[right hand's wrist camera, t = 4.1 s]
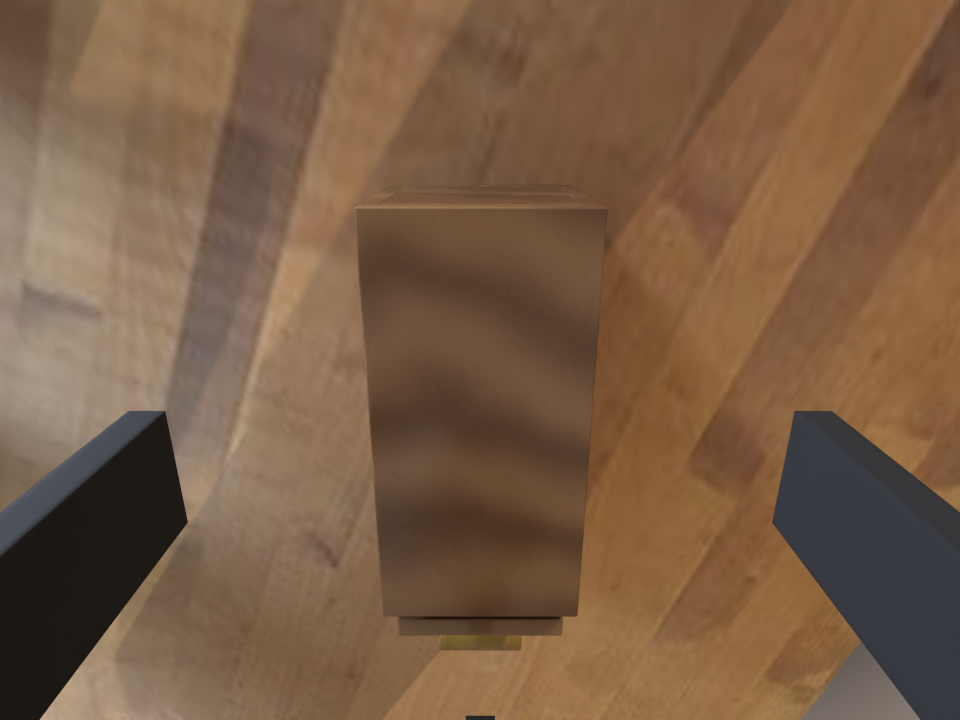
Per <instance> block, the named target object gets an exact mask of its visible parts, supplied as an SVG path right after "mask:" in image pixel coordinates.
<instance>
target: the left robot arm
mask: <svg viewBox="0 0 960 720" xmlns="http://www.w3.org/2000/svg"><path fill="white" fill-rule="evenodd" d="M466 720H495V716H466Z"/></svg>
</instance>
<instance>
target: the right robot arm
mask: <svg viewBox="0 0 960 720" xmlns="http://www.w3.org/2000/svg"><path fill="white" fill-rule="evenodd" d="M187 523H188V521H187V516H186V511H185V507H184V502H183V497H182V492H181V487H180V482H179V477H178V472H177V467H176V462H175V457H174V452H173V447H172V442H171V438H170V433H169V428H168V423H167V418H166V413H165V411H128V412H127V413H125V414H124V415H123V416H122V417H120V418H119V419H118V420H117V421H115V422H114V423H113V424H112V425H110V426H109V427H108V428H106V429H105V430H104V431H103V432H101V433H100V434H99V435H98V436H96V437H95V438H94V439H93V440H91V441H90V442H89V443H87V444H86V445H85V446H84V447H82V448H81V449H80V450H79V451H77V452H76V453H75V454H73V455H72V456H71V457H70V458H68V459H67V460H66V461H65V462H63V463H62V464H61V465H60V466H58V467H57V468H56V469H54V470H53V471H52V472H51V473H49V474H48V475H47V476H46V477H44V478H43V479H42V480H41V481H39V482H38V483H37V484H35V485H34V486H33V487H32V488H30V489H29V490H28V491H27V492H25V493H24V494H23V495H22V496H20V497H19V498H18V499H16V500H15V501H14V502H13V503H11V504H10V505H9V506H8V507H6V508H5V509H4V510H3V511H1V512H0V720H40V718H41V717H42V716H43V714H44V713H45V712H46V710H47V709H48V708H49V706H50V705H51V704H52V702H53V701H54V700H55V698H56V697H57V696H58V694H59V693H60V692H61V690H62V689H63V688H64V686H65V685H66V684H67V682H68V681H69V680H70V678H71V677H72V676H73V674H74V673H75V672H76V670H77V669H78V668H79V666H80V665H81V664H82V662H83V661H84V660H85V658H86V657H87V656H88V654H89V653H90V652H91V650H92V649H93V648H94V646H95V645H96V644H97V642H98V641H99V640H100V638H101V637H102V636H103V634H104V633H105V632H106V630H107V629H108V628H109V626H110V625H111V624H112V622H113V621H114V620H115V619H116V617H117V616H118V615H119V613H120V612H121V611H122V609H123V608H124V607H125V605H126V604H127V603H128V601H129V600H130V599H131V597H132V596H133V595H134V593H135V592H136V591H137V589H138V588H139V587H140V585H141V584H142V583H143V581H144V580H145V579H146V577H147V576H148V575H149V573H150V572H151V571H152V569H153V568H154V567H155V565H156V564H157V563H158V561H159V560H160V559H161V557H162V556H163V555H164V553H165V552H166V551H167V549H168V548H169V547H170V545H171V544H172V543H173V541H174V540H175V539H176V537H177V536H178V535H179V533H180V532H181V531H182V529H183V528H184V527H185V525H186V524H187ZM772 523H773V524H774V525H775V527H776V528H777V529H778V531H779V532H780V533H781V535H782V536H783V537H784V539H785V540H786V541H787V543H788V544H789V545H790V547H791V548H792V549H793V551H794V552H795V553H796V555H797V556H798V557H799V559H800V560H801V561H802V563H803V564H804V565H805V567H806V568H807V569H808V571H809V572H810V573H811V575H812V576H813V577H814V579H815V580H816V581H817V583H818V584H819V585H820V587H821V588H822V589H823V591H824V592H825V593H826V595H827V596H828V597H829V599H830V600H831V601H832V603H833V604H834V605H835V607H836V608H837V609H838V611H839V612H840V613H841V615H842V616H843V617H844V619H845V620H846V621H847V622H848V624H849V625H850V626H851V628H852V629H853V630H854V632H855V633H856V634H857V636H858V637H859V638H860V640H861V641H862V642H863V644H864V645H865V646H866V648H867V649H868V650H869V652H870V653H871V654H872V656H873V657H874V658H875V660H876V661H877V662H878V664H879V665H880V666H881V668H882V669H883V670H884V672H885V673H886V674H887V676H888V677H889V678H890V680H891V681H892V682H893V684H894V685H895V686H896V688H897V689H898V690H899V692H900V693H901V694H902V696H903V697H904V698H905V700H906V701H907V702H908V704H909V705H910V706H911V708H912V709H913V710H914V711H915V713H916V714H917V716H918V717H919V718H920V720H960V512H959V511H957V510H956V509H955V508H954V507H952V506H951V505H950V504H949V503H947V502H946V501H945V500H944V499H942V498H941V497H940V496H938V495H937V494H936V493H935V492H933V491H932V490H931V489H930V488H928V487H927V486H926V485H925V484H923V483H922V482H921V481H919V480H918V479H917V478H916V477H914V476H913V475H912V474H911V473H909V472H908V471H907V470H906V469H904V468H903V467H902V466H900V465H899V464H898V463H897V462H895V461H894V460H893V459H892V458H890V457H889V456H888V455H887V454H885V453H884V452H883V451H881V450H880V449H879V448H878V447H876V446H875V445H874V444H873V443H871V442H870V441H869V440H867V439H866V438H865V437H864V436H862V435H861V434H860V433H859V432H857V431H856V430H855V429H854V428H852V427H851V426H850V425H848V424H847V423H846V422H845V421H843V420H842V419H841V418H840V417H838V416H837V415H836V414H835V413H833V412H832V411H795V413H794V418H793V423H792V428H791V433H790V438H789V442H788V447H787V452H786V457H785V462H784V467H783V472H782V477H781V482H780V487H779V492H778V497H777V502H776V507H775V511H774V516H773V521H772Z"/></svg>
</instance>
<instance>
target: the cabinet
mask: <svg viewBox="0 0 960 720" xmlns="http://www.w3.org/2000/svg"><path fill="white" fill-rule="evenodd" d="M354 213H355V227H356V241H357V255H358V269H359V283H360V297H361V311H362V325H363V339H364V353H365V367H366V381H367V395H368V409H369V422H370V436H371V450H372V464H373V478H374V492H375V506H376V520H377V534H378V548H379V562H380V576H381V590H382V604H383V615H384V616H577V613H578V600H579V586H580V572H581V559H582V545H583V532H584V518H585V505H586V491H587V478H588V464H589V451H590V437H591V424H592V410H593V396H594V383H595V369H596V356H597V342H598V329H599V315H600V302H601V288H602V275H603V261H604V248H605V234H606V220H607V207H605V206H603V205H602V204H600V203H598V202H597V201H595V200H593V199H592V198H590V197H588V196H587V195H585V194H583V193H582V192H580V191H578V190H577V189H575V188H573V187H572V186H570V185H391V186H389V187H387V188H386V189H384V190H382V191H381V192H379V193H377V194H376V195H374V196H372V197H371V198H369V199H367V200H366V201H364V202H362V203H361V204H359V205H358V206H356V207H355V208H354Z"/></svg>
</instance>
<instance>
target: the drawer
mask: <svg viewBox="0 0 960 720" xmlns="http://www.w3.org/2000/svg"><path fill="white" fill-rule="evenodd" d="M562 625H563V618H562V616H398V631H399V635H439V648H440V650H521V635H562Z"/></svg>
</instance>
